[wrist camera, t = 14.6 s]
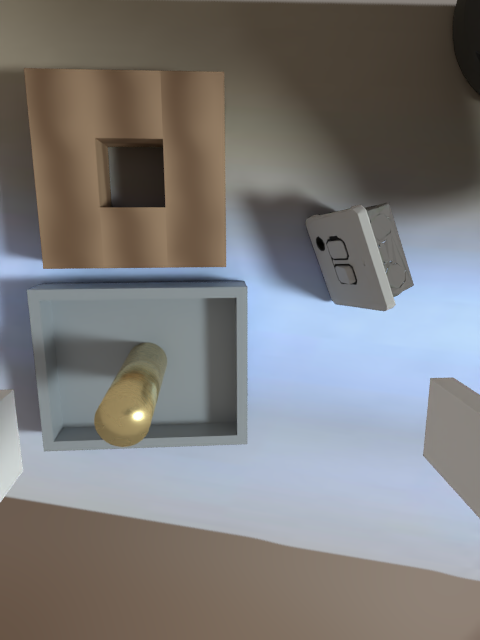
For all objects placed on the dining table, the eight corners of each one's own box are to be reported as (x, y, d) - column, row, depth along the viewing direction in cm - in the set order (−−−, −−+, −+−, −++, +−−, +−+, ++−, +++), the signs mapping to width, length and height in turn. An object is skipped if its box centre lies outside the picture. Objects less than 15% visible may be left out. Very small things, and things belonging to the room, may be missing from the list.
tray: (244, 281, 46) (247, 287, 43) (244, 426, 50) (247, 444, 46) (42, 283, 45) (26, 289, 41) (57, 432, 49) (43, 451, 45)
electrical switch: (302, 218, 46) (335, 215, 37) (348, 199, 46) (393, 191, 37) (331, 304, 48) (370, 321, 39) (376, 285, 48) (424, 297, 39)
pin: (166, 342, 46) (149, 394, 33) (167, 379, 47) (151, 446, 34) (126, 342, 46) (92, 396, 32) (128, 380, 47) (96, 447, 33)
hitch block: (222, 88, 42) (224, 71, 37) (224, 261, 46) (226, 266, 41) (45, 85, 41) (23, 68, 36) (61, 263, 45) (43, 268, 40)
